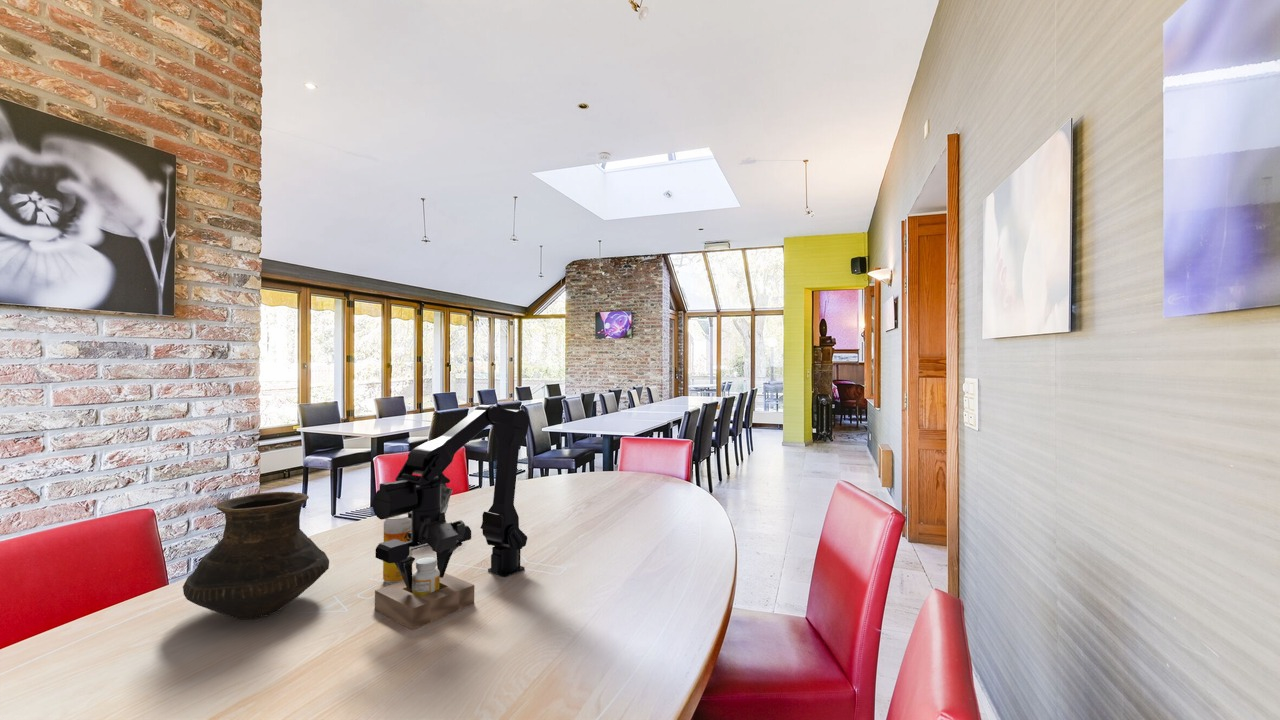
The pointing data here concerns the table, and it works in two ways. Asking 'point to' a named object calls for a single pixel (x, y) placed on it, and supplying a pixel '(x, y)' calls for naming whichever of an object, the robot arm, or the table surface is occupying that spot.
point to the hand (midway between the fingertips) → (425, 582)
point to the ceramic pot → (257, 558)
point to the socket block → (423, 601)
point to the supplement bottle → (425, 577)
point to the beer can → (397, 530)
